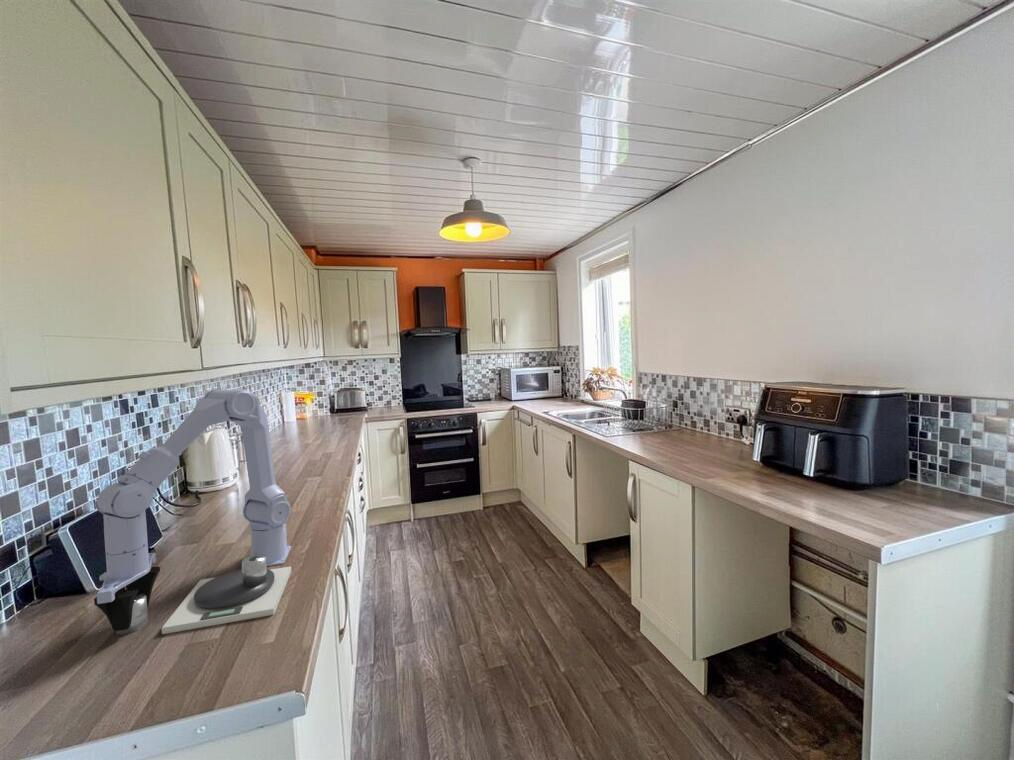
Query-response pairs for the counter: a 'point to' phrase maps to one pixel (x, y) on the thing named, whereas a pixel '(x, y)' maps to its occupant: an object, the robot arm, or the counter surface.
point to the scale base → (198, 617)
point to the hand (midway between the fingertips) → (131, 619)
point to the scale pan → (229, 591)
